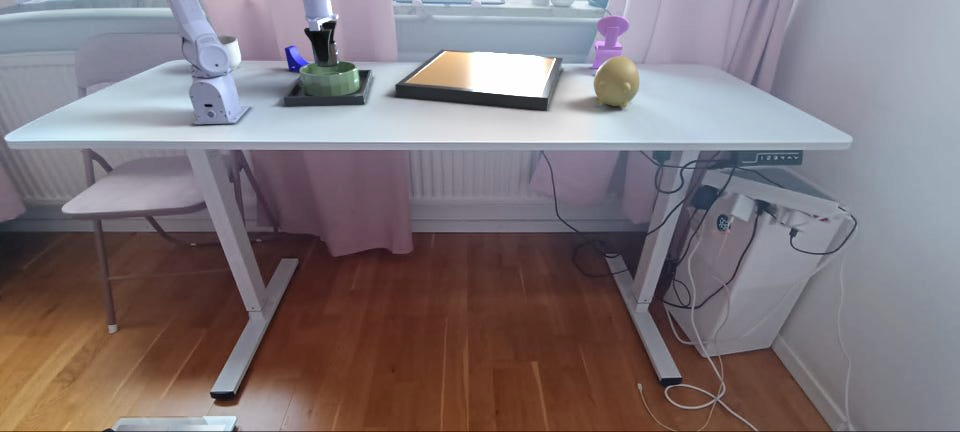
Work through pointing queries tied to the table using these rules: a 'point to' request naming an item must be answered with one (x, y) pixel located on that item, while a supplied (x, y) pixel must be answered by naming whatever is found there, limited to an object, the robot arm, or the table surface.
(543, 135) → the table surface
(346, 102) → the tray
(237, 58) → the teacup
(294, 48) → the blue curved stand
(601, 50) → the purple tall piece
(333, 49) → the black cup
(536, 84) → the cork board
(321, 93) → the sage bowl
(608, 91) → the toy pig
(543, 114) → the table surface
